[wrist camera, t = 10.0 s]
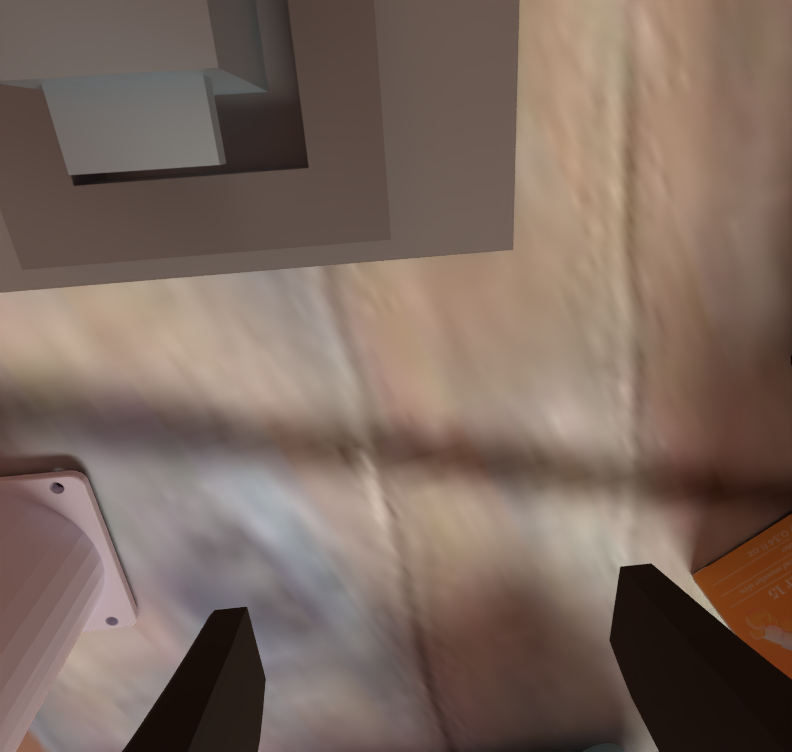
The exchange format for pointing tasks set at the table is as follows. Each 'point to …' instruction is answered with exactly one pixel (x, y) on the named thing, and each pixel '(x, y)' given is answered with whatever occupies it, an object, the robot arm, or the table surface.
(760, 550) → the small box
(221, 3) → the block
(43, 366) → the table surface
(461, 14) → the chassis
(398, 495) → the table surface
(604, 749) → the teakettle
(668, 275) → the table surface
